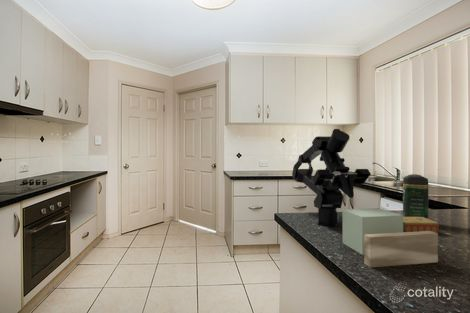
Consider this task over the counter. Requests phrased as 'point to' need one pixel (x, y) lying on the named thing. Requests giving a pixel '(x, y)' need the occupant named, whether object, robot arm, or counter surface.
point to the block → (368, 225)
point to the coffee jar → (415, 196)
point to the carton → (419, 224)
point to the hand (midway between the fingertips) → (351, 197)
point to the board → (400, 248)
